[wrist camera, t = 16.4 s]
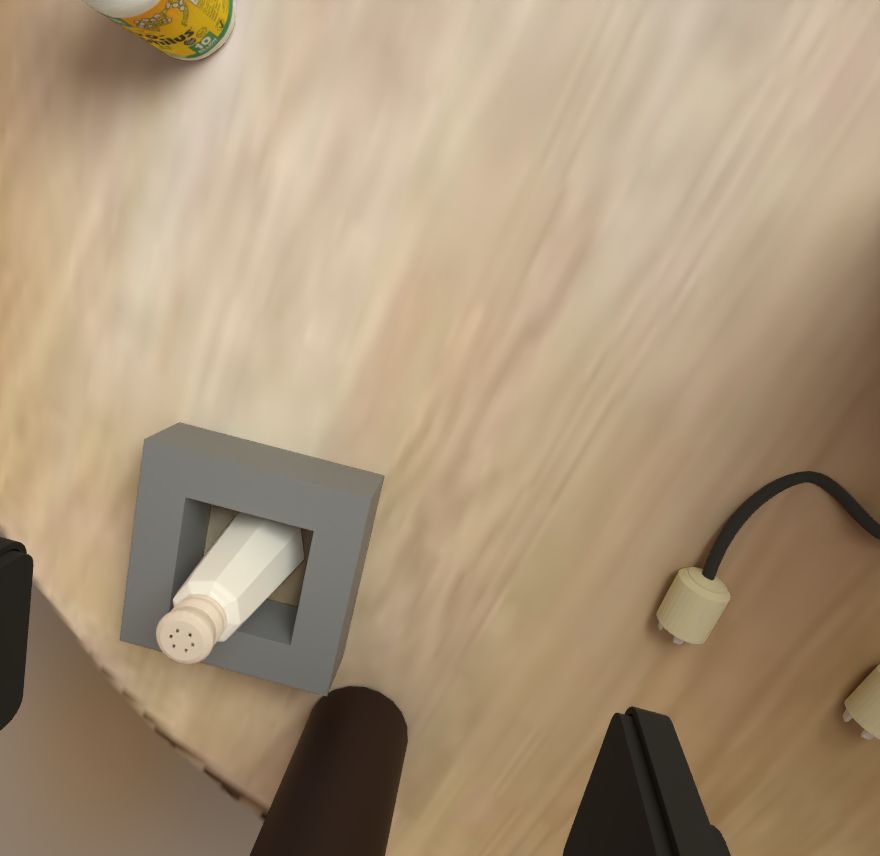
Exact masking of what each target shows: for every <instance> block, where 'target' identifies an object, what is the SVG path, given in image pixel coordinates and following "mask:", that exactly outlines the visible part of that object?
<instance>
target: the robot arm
mask: <svg viewBox="0 0 880 856" xmlns="http://www.w3.org/2000/svg"><path fill="white" fill-rule="evenodd" d="M32 576H33V559H32V557H31V556H30V555H28V554H27V552H26V548H25V546H24V545H23V544H22V543H20V542H17V541H13V540H9V539H6V538H2V537H0V730H2V729H3V728H4V727H5V726H6V725H7V724H8V723H9V722H10V721H11V720H12V719H13V717H14V716H15V714H16V713H17V711H18V709H19V707H20V704H21V702H22V697H23V688H24V675H25V663H26V650H27V638H28V626H29V625H28V624H29V613H30V601H31V587H32ZM563 856H731V855H730V852H729V850H728V847H727V845H726V842H725V840H724V838H723V836H722V834H721V833H720V831H719V830H718V829H717V828H716V827H715V826H713V825H710V823H709V820H708V817H707V815H706V812H705V809H704V807H703V804H702V801H701V799H700V796H699V793H698V791H697V788H696V785H695V783H694V780H693V777H692V774H691V772H690V769H689V766H688V764H687V761H686V758H685V756H684V753H683V750H682V748H681V745H680V742H679V740H678V737H677V734H676V732H675V729H674V726H673V724H672V721H671V720H670V718H669V717H668V716H666V715H662V714H658V713H655V712H651V711H647V710H644V709H640V708H636V707H629V708H628V709H627V711H626V712H625V714H620V713H615V714H614V716H613V717H612V719H611V722H610V724H609V727H608V730H607V733H606V735H605V738H604V741H603V744H602V746H601V749H600V752H599V754H598V757H597V760H596V763H595V765H594V768H593V771H592V774H591V776H590V779H589V782H588V785H587V787H586V790H585V793H584V795H583V798H582V801H581V804H580V806H579V809H578V812H577V815H576V817H575V820H574V823H573V825H572V828H571V831H570V834H569V836H568V839H567V842H566V845H565V848H564V852H563Z"/></svg>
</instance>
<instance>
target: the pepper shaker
mask: <svg viewBox="0 0 880 856" xmlns="http://www.w3.org/2000/svg"><path fill="white" fill-rule="evenodd" d="M303 560H304V550H303V542H302V534H301V528H300V527H296V526H292V525H289V524H285V523H281V522H277V521H273V520H270V519H266V518H262V517H258V516H254V515H251V514H247V513H243V512H239V513H238V514H237V515H236V516H235V518H234V519H233V520H232V521H231V522H230V523H229V525H228V526H227V527H226V528H225V529H224V530H223V532H222V533H221V534H220V536H219V537H218V538H217V540H216V541H215V542H214V544H213V545H212V546H211V548H210V549H209V550H208V552H207V553H206V554H205V556H204V557H203V558H202V560H201V561H200V563H199V564H198V565H197V567H196V568H195V569H194V571H193V572H192V573H191V575H190V576H189V577H188V579H187V580H186V581H185V583H184V584H183V585H182V587H181V588H180V589H179V591H178V592H177V594H176V595H175V597H174V598H173V605H174V608H173V609H172V610H171V612H169V613H168V614H166V615H165V616H164V617H163V618H162V619H161V620H160V621H159V623H158V625H157V628H156V638H157V642H158V645H159V647H160V649H161V650H162V651H163V653H164V654H165V655H166V656H168V657H169V658H170V659H172V660H174V661H176V662H179V663H183V664H193V663H197V662H200V661H202V660H204V659H205V658H206V657H207V656H208V655H209V654H210V652H211V650H212V648H213V646H214V645H215V644H216V642H224V641H225V640H227V639H228V638H229V637H230V636H231V635H232V634H233V633H234V632H235V631H236V630H237V629H238V628H239V627H240V626H241V625H242V624H243V623H244V622H245V621H246V620H247V619H248V618H249V617H250V616H251V615H252V614H253V613H254V611H255V610H256V609H257V608H258V607H259V606H260V605H261V604H262V603H263V602H264V601H265V600H266V599H267V598H268V597H269V596H270V595H271V594H272V593H273V592H274V591H275V590H276V589H277V588H278V587H279V586H280V585H281V584H282V583H283V582H284V581H285V580H286V578H287V577H288V576H289V575H290V574H291V573H292V572H293V571H294V570H295V569H296V568H297V566H298V565H299V564H300V563H301V562H302V561H303Z"/></svg>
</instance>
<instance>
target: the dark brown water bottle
mask: <svg viewBox="0 0 880 856" xmlns="http://www.w3.org/2000/svg"><path fill="white" fill-rule="evenodd" d="M407 742H408V740H407V725H406V722H405V720H404V717H403V715H402V712H401V711H400V710H399V709H398V707H397V706H396V705H395V704H394V703H393V701H391V700H390V699H389V698H387V697H386V696H384V695H383V694H381V693H380V692H377V691H374V690H371V689H368V688H365V687H352V686H348V687H344V688H340V689H336V690H333V691H332V692H330V693H328V695H327V697H326V696H324V697H322V698H321V699H320V701H319V702H318V703H317V704H316V706H315V707H314V708H313V709H312V712H311V714H310V716H309V719H308V721H307V723H306V725H305V728H304V730H303V732H302V735H301V737H300V739H299V742H298V744H297V746H296V749H295V751H294V753H293V756H292V758H291V760H290V763H289V765H288V767H287V770H286V772H285V774H284V777H283V779H282V781H281V784H280V786H279V788H278V791H277V793H276V795H275V798H274V800H273V802H272V805H271V807H270V809H269V812H268V814H267V816H266V819H265V821H264V823H263V826H262V828H261V831H260V833H259V835H258V837H257V840H256V842H255V845H254V847H253V849H252V852H251V854H250V856H385V852H386V847H387V842H388V837H389V832H390V827H391V822H392V817H393V812H394V807H395V802H396V797H397V792H398V787H399V782H400V777H401V772H402V767H403V762H404V757H405V752H406V747H407Z"/></svg>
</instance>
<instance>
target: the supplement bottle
mask: <svg viewBox="0 0 880 856" xmlns="http://www.w3.org/2000/svg"><path fill="white" fill-rule="evenodd" d="M82 1H84V2H85V3H86V4H87V5H89V6H90V7H91V8H93V9H95V10H96V11H98V12H99V13H101V14H103V15H104V16H106V17H107V18H109V19H111V20H112V21H114V22H116V23H117V24H119V25H120V26H122V27H124V28H125V29H127V30H129V31H130V32H132V33H133V34H135V35H137V36H138V37H140V38H141V39H143V40H144V41H146V42H148V43H149V44H151V45H152V46H154V47H155V48H157V49H159V50H160V51H162V52H164V53H165V54H167V55H169V56H171V57H174V58H177V59H181V60H199V59H203V58H205V57H207V56H209V55H210V54H212V53H213V52H215V51H216V50H217V49H219V48H220V47H221V46H222V45H223V44H224V43H225V42H226V40H227V39H228V37H229V35H230V33H231V31H232V29H233V26H234V22H235V17H236V0H82Z"/></svg>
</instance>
